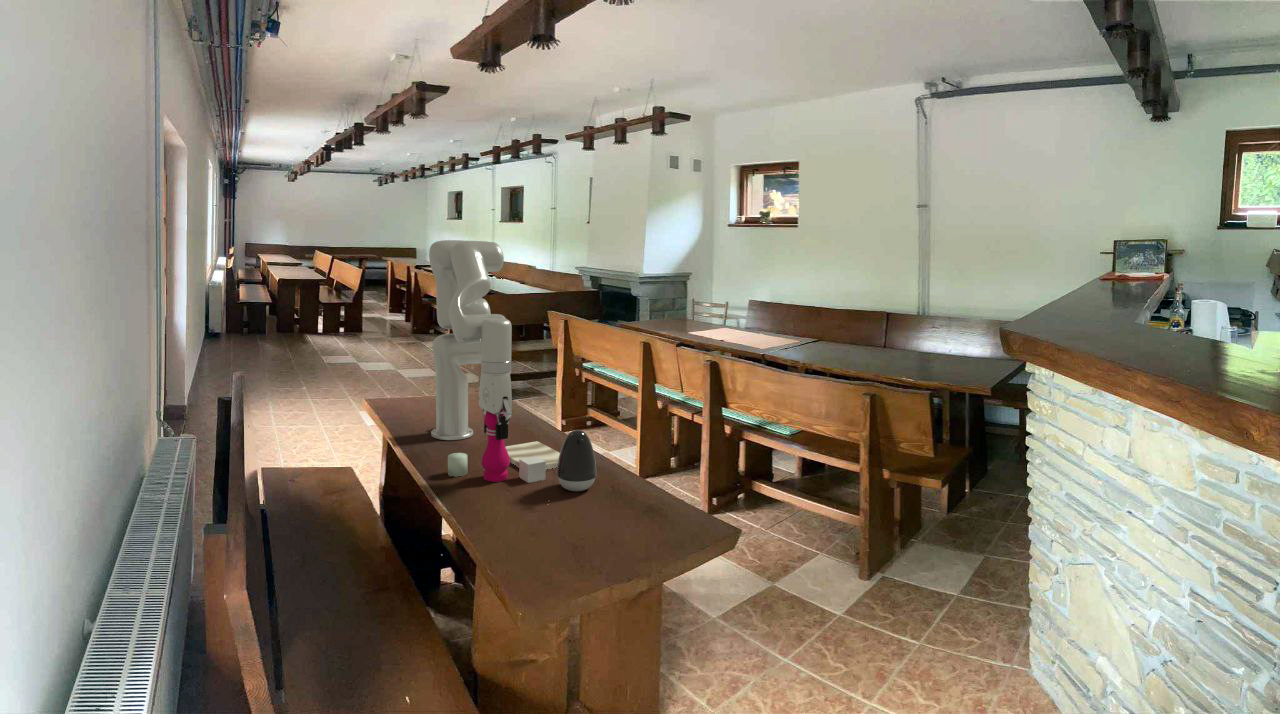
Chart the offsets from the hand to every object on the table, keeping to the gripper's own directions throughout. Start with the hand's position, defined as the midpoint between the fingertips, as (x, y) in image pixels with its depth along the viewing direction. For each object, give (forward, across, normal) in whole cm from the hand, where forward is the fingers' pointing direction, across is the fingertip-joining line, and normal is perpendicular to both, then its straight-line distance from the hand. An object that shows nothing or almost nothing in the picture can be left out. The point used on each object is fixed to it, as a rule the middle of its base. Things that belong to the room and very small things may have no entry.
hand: (495, 435), depth 190 cm
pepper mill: (+12, 0, 0) cm, 12 cm away
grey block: (+12, +5, +8) cm, 15 cm away
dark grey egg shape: (+12, +17, +14) cm, 25 cm away
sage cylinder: (+12, -8, -7) cm, 16 cm away
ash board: (+12, -9, +16) cm, 22 cm away
